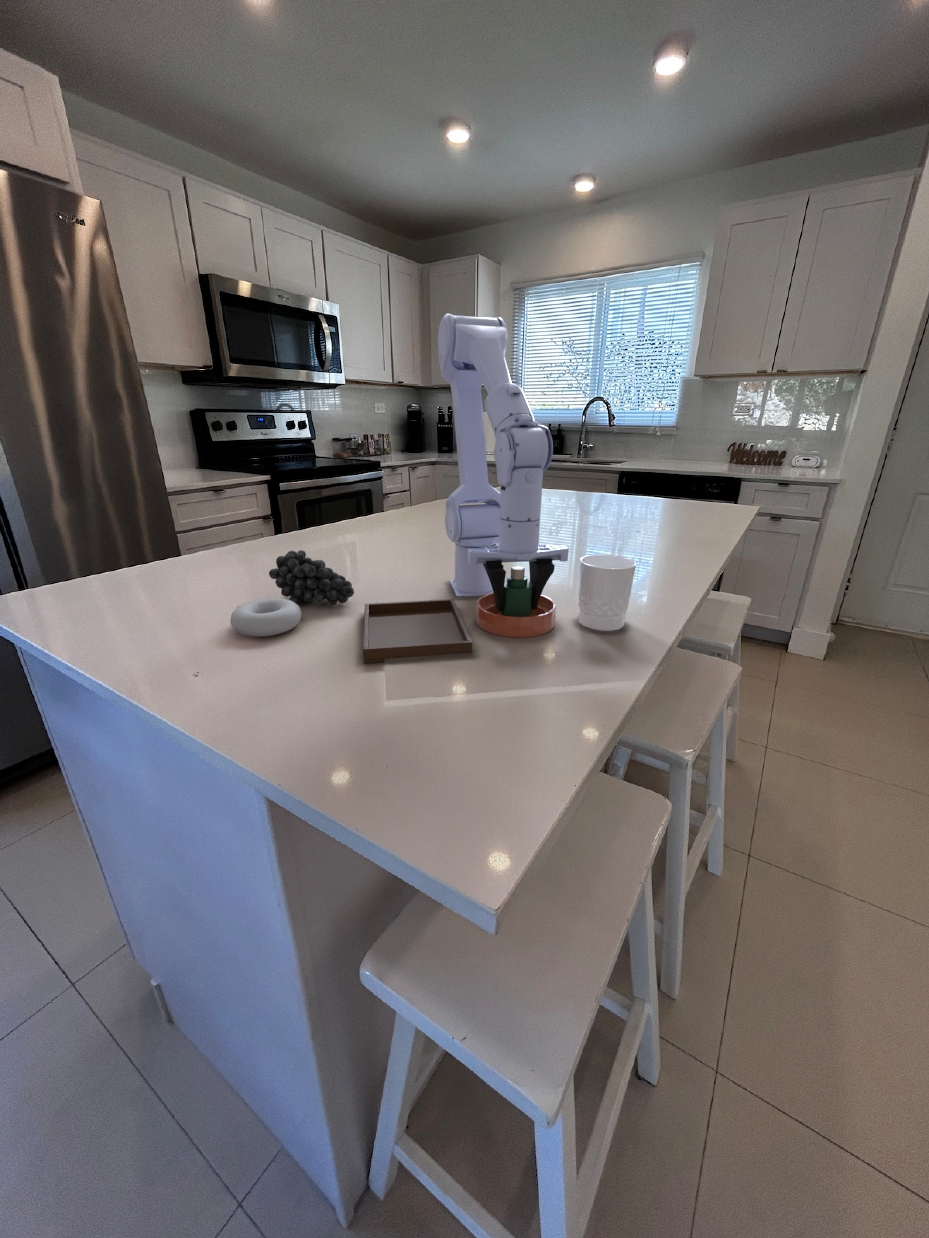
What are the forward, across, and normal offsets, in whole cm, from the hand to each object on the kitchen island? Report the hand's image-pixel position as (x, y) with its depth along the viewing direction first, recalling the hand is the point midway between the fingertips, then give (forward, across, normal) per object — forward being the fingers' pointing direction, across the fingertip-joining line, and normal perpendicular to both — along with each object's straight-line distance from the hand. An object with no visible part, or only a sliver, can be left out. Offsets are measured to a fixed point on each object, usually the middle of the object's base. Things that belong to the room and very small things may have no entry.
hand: (515, 608), depth 77 cm
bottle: (+2, 0, 0) cm, 2 cm away
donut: (+3, -37, +5) cm, 37 cm away
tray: (+3, -16, -1) cm, 16 cm away
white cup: (+3, +13, -2) cm, 13 cm away
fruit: (+3, -31, +15) cm, 35 cm away
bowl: (+3, 0, 0) cm, 3 cm away
